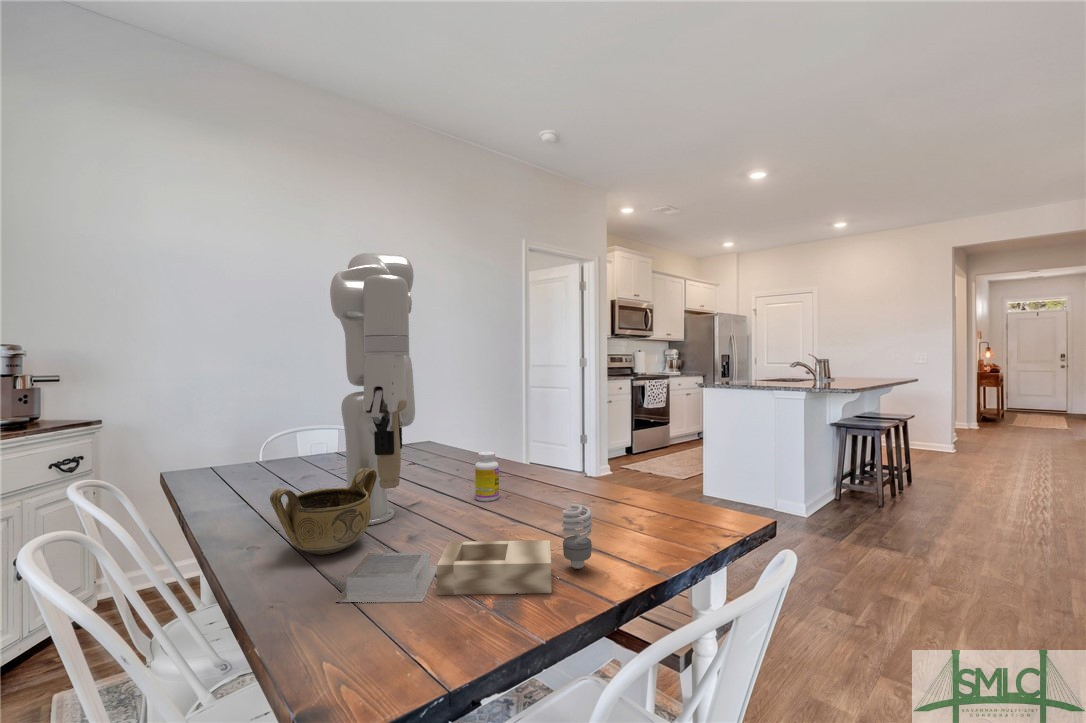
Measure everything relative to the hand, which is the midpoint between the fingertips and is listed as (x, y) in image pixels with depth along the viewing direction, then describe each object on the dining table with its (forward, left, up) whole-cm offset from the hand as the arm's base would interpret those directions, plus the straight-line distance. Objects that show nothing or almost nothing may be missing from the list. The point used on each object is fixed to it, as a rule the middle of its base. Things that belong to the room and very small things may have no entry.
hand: (388, 451), depth 87 cm
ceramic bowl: (-18, +17, -24) cm, 34 cm away
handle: (0, 0, -6) cm, 6 cm away
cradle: (0, 0, -23) cm, 23 cm away
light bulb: (+33, +5, -24) cm, 41 cm away
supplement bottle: (+11, +53, -24) cm, 59 cm away
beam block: (+18, +1, -23) cm, 30 cm away
